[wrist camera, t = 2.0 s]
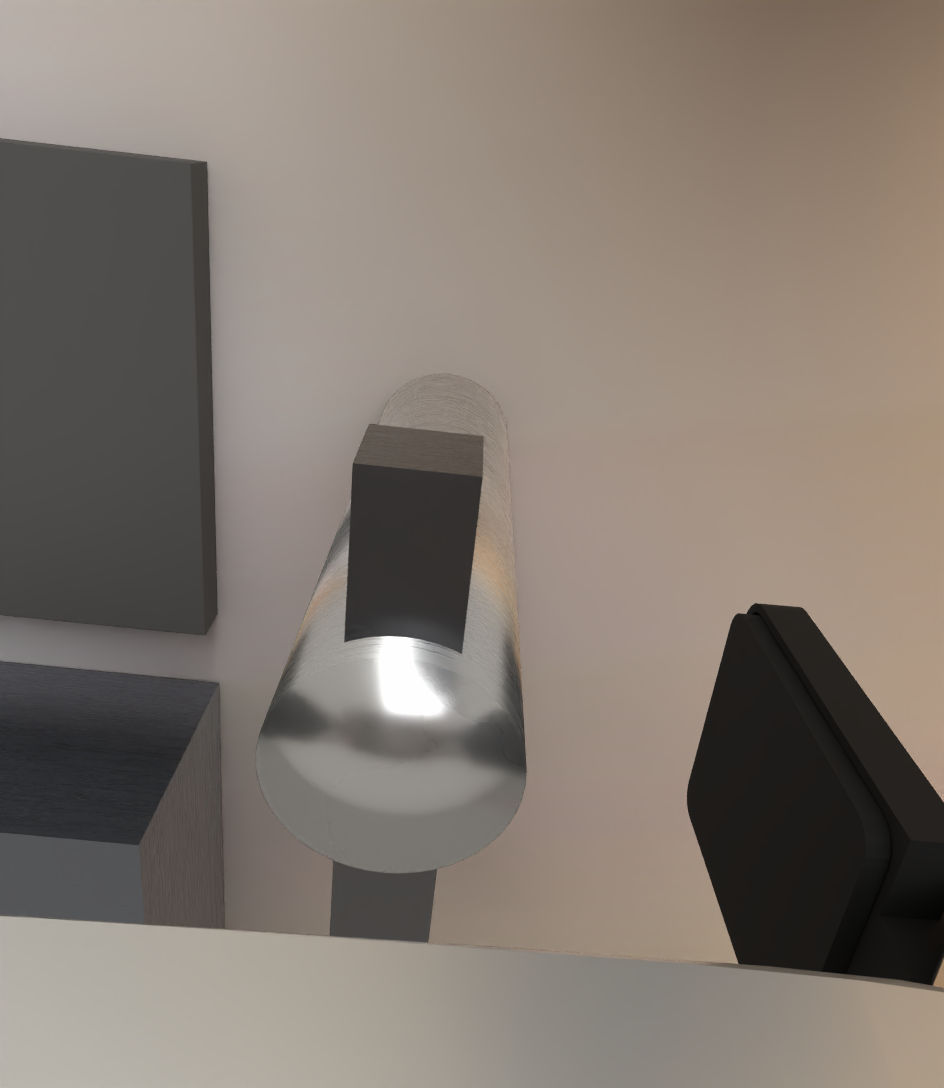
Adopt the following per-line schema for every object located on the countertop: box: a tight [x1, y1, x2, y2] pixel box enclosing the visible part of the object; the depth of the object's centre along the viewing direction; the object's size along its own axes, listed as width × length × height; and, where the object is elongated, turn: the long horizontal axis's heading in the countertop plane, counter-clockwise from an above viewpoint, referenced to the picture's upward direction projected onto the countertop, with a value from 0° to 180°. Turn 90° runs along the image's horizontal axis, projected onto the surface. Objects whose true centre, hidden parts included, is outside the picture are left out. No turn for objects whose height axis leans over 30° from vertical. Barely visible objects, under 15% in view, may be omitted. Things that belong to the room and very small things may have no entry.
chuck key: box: [256, 374, 527, 942], centre depth 14 cm, size 3×6×11 cm, turn 174°
